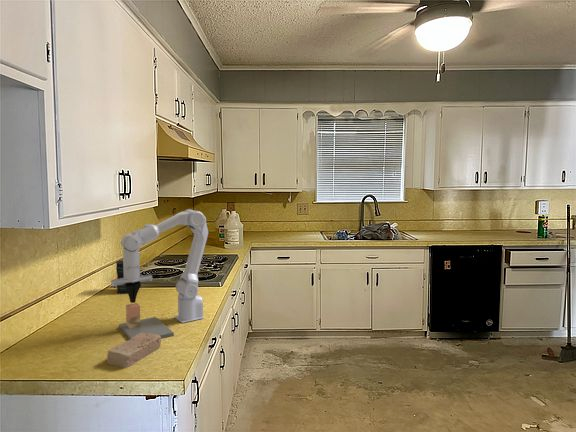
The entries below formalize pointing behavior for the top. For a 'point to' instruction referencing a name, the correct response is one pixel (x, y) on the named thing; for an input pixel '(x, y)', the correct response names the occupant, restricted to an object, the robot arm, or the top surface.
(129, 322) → the maple block
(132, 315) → the terracotta block
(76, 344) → the top surface
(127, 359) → the brick
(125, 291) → the storage jar
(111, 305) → the top surface
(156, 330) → the plate
